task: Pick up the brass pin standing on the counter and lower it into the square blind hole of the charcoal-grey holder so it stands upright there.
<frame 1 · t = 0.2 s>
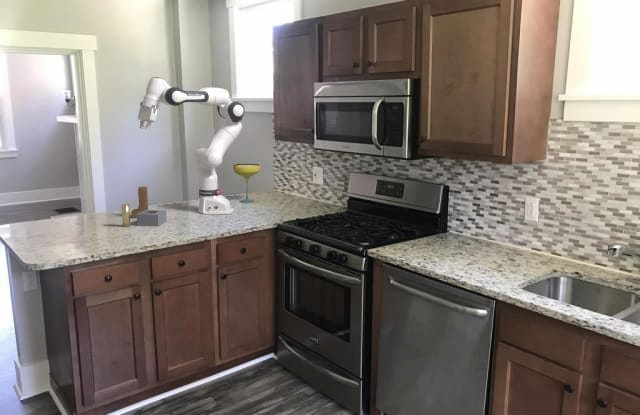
hand: (143, 128, 293), 52 cm above the countertop, tool tilted 20°, fingers open, 8 cm apart
hole holder: (152, 223, 292), on the countertop
wooden block: (140, 217, 307), on the countertop
cocktail glass: (247, 201, 358), on the countertop
brass pin: (126, 226, 285), on the countertop
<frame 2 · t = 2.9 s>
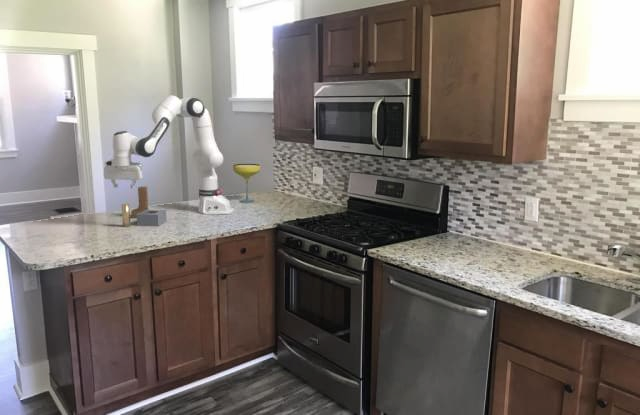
hand: (124, 187, 281), 21 cm above the countertop, tool pointing down, fingers open, 8 cm apart
nothing on the countertop moved.
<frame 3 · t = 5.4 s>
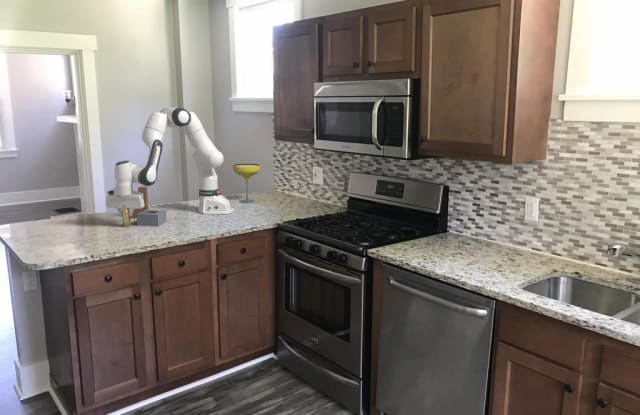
hand: (126, 216, 284), 6 cm above the countertop, tool pointing down, fingers closed on brass pin, 4 cm apart
brass pin: (126, 226, 285), on the countertop, touching gripper
everything else where it was.
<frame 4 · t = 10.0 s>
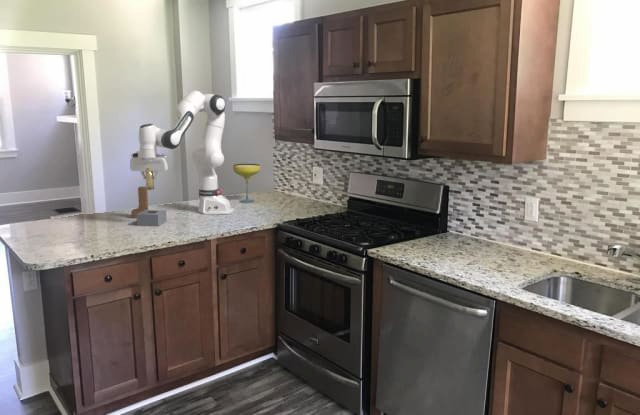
hand: (149, 179, 287), 25 cm above the countertop, tool pointing down, fingers closed on brass pin, 4 cm apart
brass pin: (150, 189, 288), point 19 cm above the countertop, touching gripper
everything else where it was.
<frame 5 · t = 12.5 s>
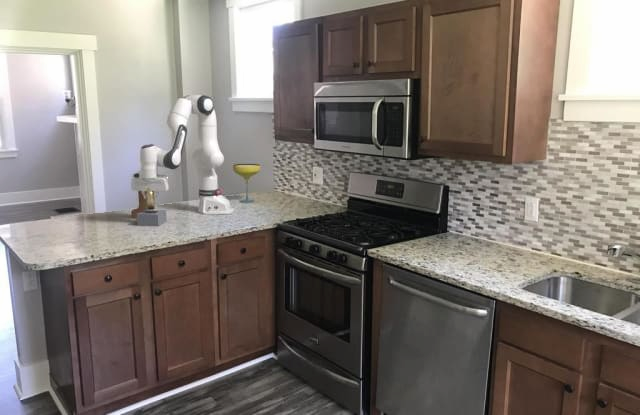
hand: (150, 199, 289), 14 cm above the countertop, tool pointing down, fingers closed on brass pin, 4 cm apart
brass pin: (151, 208, 290), point 8 cm above the countertop, touching gripper
everything else where it was.
when the fingers open (9 cm above the countertop, at t = 14.7 s): brass pin drops 1 cm, resting on hole holder.
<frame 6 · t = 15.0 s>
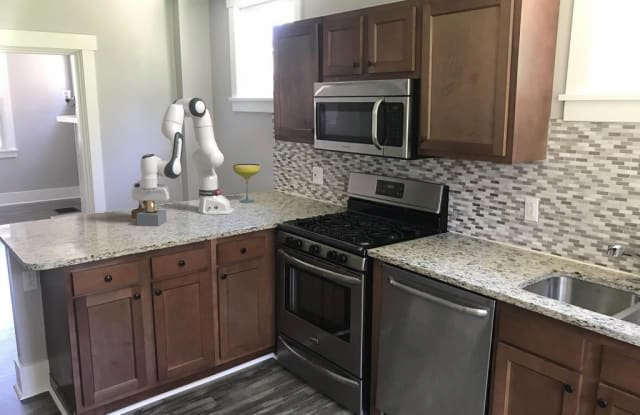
hand: (151, 208, 290), 9 cm above the countertop, tool pointing down, fingers open, 7 cm apart
brass pin: (152, 220, 292), point 2 cm above the countertop, touching hole holder
everything else where it was.
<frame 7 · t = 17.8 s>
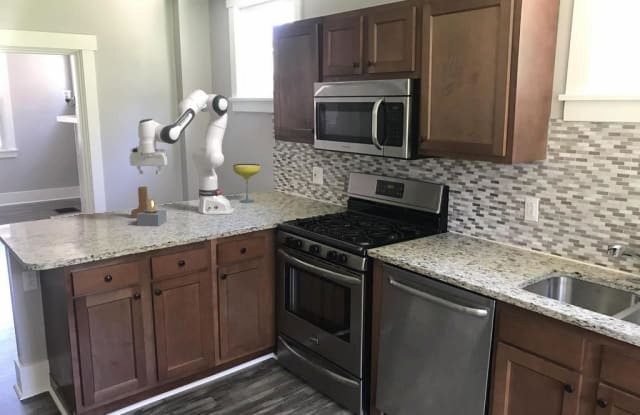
hand: (149, 174, 288), 28 cm above the countertop, tool pointing down, fingers open, 8 cm apart
nothing on the countertop moved.
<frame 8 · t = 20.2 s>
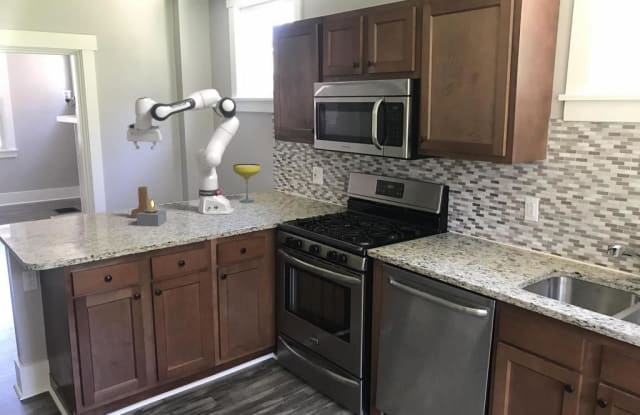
hand: (145, 149, 309), 39 cm above the countertop, tool pointing down, fingers open, 8 cm apart
nothing on the countertop moved.
at the end: brass pin 0.0 cm off-centre on the hole holder, point 1.5 cm above the hole holder's base; brass pin tilted 0°; the gripper is holding nothing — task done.
